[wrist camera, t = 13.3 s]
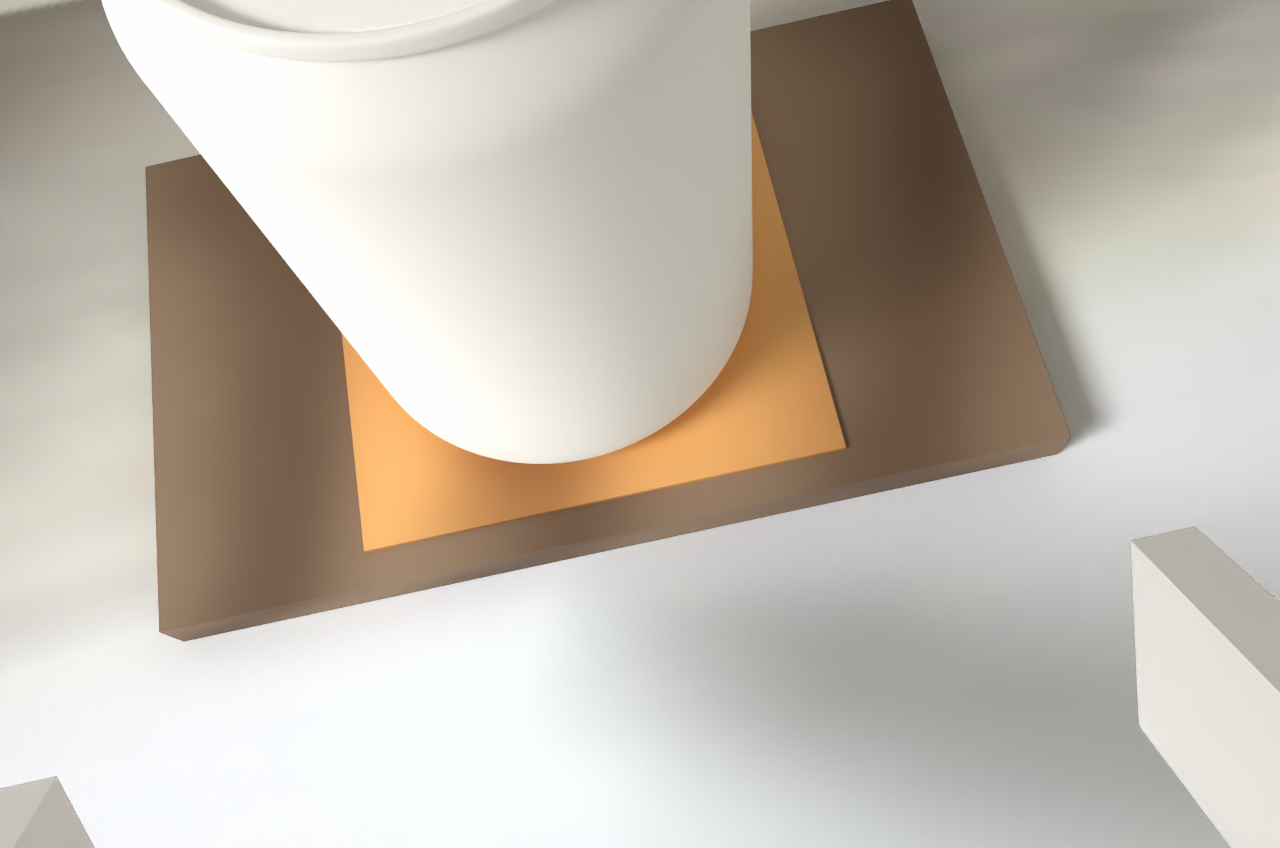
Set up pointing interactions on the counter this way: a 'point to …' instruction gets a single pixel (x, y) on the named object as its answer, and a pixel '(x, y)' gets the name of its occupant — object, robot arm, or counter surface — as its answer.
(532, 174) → the beverage can
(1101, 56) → the counter surface
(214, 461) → the label board
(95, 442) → the counter surface
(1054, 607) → the counter surface
